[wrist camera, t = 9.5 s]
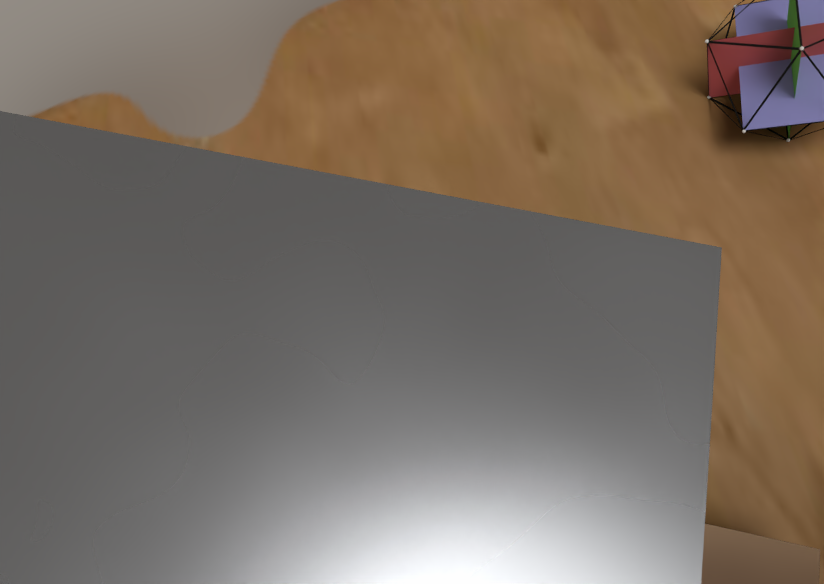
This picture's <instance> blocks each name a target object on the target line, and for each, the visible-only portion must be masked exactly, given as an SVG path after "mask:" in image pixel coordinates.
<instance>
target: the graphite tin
mask: <svg viewBox="0 0 824 584" xmlns="http://www.w3.org/2000/svg"><path fill="white" fill-rule="evenodd" d="M721 250H722V248H721V247H716V246H710V245H705V244H700V243H694V242H689V241H684V240H679V239H673V238H668V237H663V236H657V235H652V234H647V233H642V232H636V231H631V230H626V229H620V228H615V227H610V226H605V225H599V224H594V223H589V222H583V221H578V220H573V219H568V218H562V217H557V216H552V215H546V214H541V213H536V212H531V211H525V210H520V209H515V208H509V207H504V206H499V205H494V204H488V203H483V202H478V201H472V200H467V199H462V198H457V197H451V196H446V195H441V194H435V193H430V192H425V191H420V190H414V189H409V188H404V187H398V186H393V185H388V184H383V183H377V182H372V181H367V180H361V179H356V178H351V177H345V176H340V175H335V174H330V173H324V172H319V171H314V170H308V169H303V168H298V167H293V166H287V165H282V164H277V163H271V162H266V161H261V160H256V159H250V158H245V157H240V156H234V155H229V154H224V153H219V152H213V151H208V150H203V149H197V148H192V147H187V146H182V145H176V144H171V143H166V142H160V141H155V140H150V139H145V138H139V137H134V136H129V135H123V134H118V133H113V132H108V131H102V130H97V129H92V128H86V127H81V126H76V125H71V124H65V123H60V122H55V121H49V120H44V119H39V118H34V117H28V116H23V115H18V114H12V113H7V112H2V111H0V584H701V578H702V562H703V545H704V529H705V512H706V496H707V480H708V463H709V447H710V430H711V414H712V397H713V381H714V365H715V348H716V332H717V315H718V299H719V282H720V266H721Z"/></svg>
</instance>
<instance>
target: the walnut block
mask: <svg viewBox="0 0 824 584" xmlns="http://www.w3.org/2000/svg"><path fill="white" fill-rule="evenodd" d="M819 570H820V549H816V548H812V547H807V546H803V545H798V544H794V543H789V542H785V541H781V540H776V539H772V538H767V537H763V536H758V535H754V534H749V533H745V532H741V531H736V530H732V529H727V528H723V527H718V526H714V525H710V524H705V529H704V545H703V562H702V578H701V584H819Z"/></svg>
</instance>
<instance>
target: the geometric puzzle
mask: <svg viewBox="0 0 824 584" xmlns="http://www.w3.org/2000/svg"><path fill="white" fill-rule="evenodd" d="M743 1H744V0H743ZM743 1H742V2H743ZM753 1H754V0H753ZM753 1H752V2H753ZM752 2H751V3H749V4H743V5H738V4H737V5H738V6H737V5H734V8H733V9H734V10H733V9H732V10H733V13H732V17H731V20H730V21H729V22H728V23H727V24H729V23H730V24H729V27H728V31H727V34H726V38H725V39H720V40H714V41H709V40H711V39H712V38H713V37H714V36H715V35H716V34H717V33H718V32H720V31H721V30H722V29H723V28H724V27H725V26H726V25H727V24H726V25H725V26H724V27H723V28H721V29H720V30H719V31H718V32H717V33H716V34H715V35H714V36H711V37H710V38H709V40H705V43H707V61H708V90H709V96H707V98H708V99H711V100H712V101H713V100H714V99H713V98H712V97H717V96H725V95H728V96H729V98H730V101H731V103H732V106H733V108H734V110H733V109H731V108H729V107H728V106H726V105H724V104H722V103H720V102H718V101H716V100H714V101H715V102H717V103H719V104H721V105H723V106H725V107H727V108H728V109H730V110H732V111H734V112H735V113H736V116H737V118H738V121H739V123H740V126H741V128H742V133H745V132H747V131H750V130H759V129H768V130H769V131H771V132H773V133H775V134H777V135H779V136H781V137H783V136H782V135H780V134H778V133H776V132H774V131H772V130H770V129H769V128H776V127H784V126H786V130H787V138H785V137H783V138H784V139H783V140H785V139H786V141H787V142H789V141H790V140H792V138H793V137H795V136H796V135H797V134H798V133H800V132H801V131H802V130H804V129H805V128H806V127H807V126H809V125H810V124H811V123H818V122H824V0H766V1H760V2H755V3H752ZM740 3H741V2H740ZM740 3H739V4H740ZM732 10H731V11H732ZM734 12H735V17H734V18H735V19H736V34H737V37H733V38H727V36H728V33H729V29H730V26H731V22H732V20H733V19H734V18H733V15H734ZM729 14H730V13H729ZM729 14H728V15H729ZM728 15H727V16H728ZM726 18H727V17H726ZM726 18H725V19H726ZM725 19H724V20H725ZM722 23H723V22H722ZM722 23H721V24H722ZM721 24H720V25H721ZM718 28H719V27H718ZM718 28H717V29H718ZM717 29H716V30H717ZM714 33H715V32H714ZM714 33H713V34H714ZM740 93H741V106H742V114H741V113H739V112H737V111H736V109H735V107H734V104H733V102H732V99H731V97H730V95H732V94H740ZM714 101H713V102H714ZM715 102H714V103H715ZM715 104H716V103H715ZM716 105H717V104H716ZM717 106H718V105H717ZM718 107H719V106H718ZM719 108H720V107H719ZM720 109H721V108H720ZM721 110H722V109H721ZM722 111H723V110H722ZM723 112H724V111H723ZM724 113H725V112H724ZM737 113H738V114H740V115H742V121H743V126H742V124H741V121H740V119H739V116H738V114H737ZM725 114H726V113H725ZM726 115H727V114H726ZM727 116H728V115H727ZM728 117H729V116H728ZM729 118H730V117H729ZM730 119H731V118H730ZM731 120H732V119H731ZM732 121H733V120H732ZM733 122H734V121H733ZM734 123H735V122H734ZM735 124H736V123H735ZM801 124H808V125H807V126H805V127H804V128H803V129H802V130H800V131H799V132H798V133H796V134H795V135H794V136H793V137H791V138H790V129H791V126H793V125H801ZM736 125H737V124H736ZM737 126H738V125H737ZM738 127H739V126H738ZM739 128H740V127H739ZM741 128H740V129H741ZM823 129H824V128H823ZM820 130H821V129H820ZM817 131H818V130H817ZM814 132H815V131H814ZM750 133H752V132H750ZM811 133H812V132H811ZM755 134H757V133H755ZM808 134H810V133H808ZM759 135H762V134H759ZM805 135H807V134H805ZM764 136H766V135H764ZM802 136H804V135H802ZM769 137H771V136H769ZM800 137H801V136H800ZM774 138H776V137H774ZM797 138H798V137H797ZM779 139H781V138H779ZM794 139H795V138H794Z"/></svg>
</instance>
